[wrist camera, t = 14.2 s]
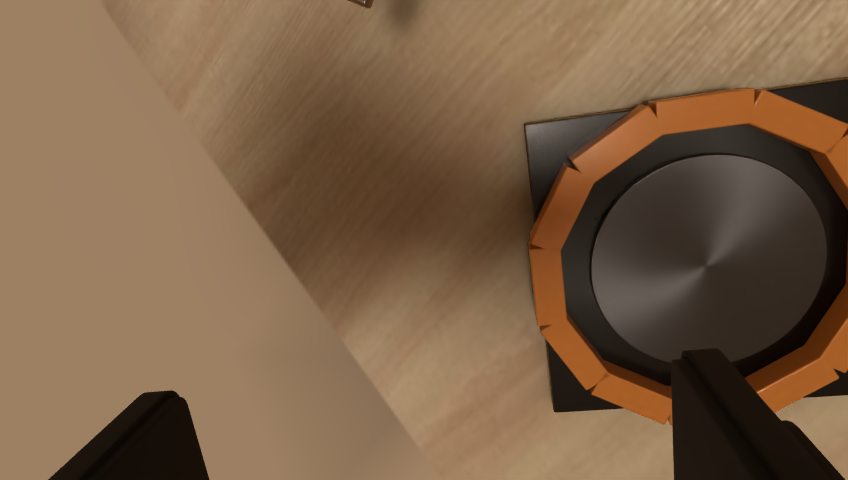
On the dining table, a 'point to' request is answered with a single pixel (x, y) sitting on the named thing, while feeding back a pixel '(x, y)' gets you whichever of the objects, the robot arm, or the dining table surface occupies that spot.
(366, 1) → the hanger stand
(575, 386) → the hob
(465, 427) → the dining table surface
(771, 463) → the robot arm
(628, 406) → the ring
